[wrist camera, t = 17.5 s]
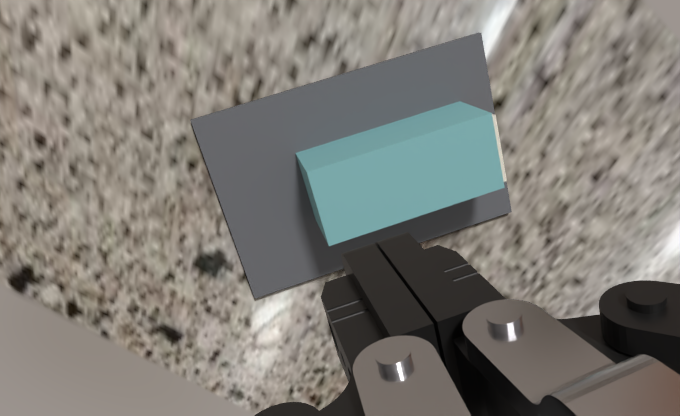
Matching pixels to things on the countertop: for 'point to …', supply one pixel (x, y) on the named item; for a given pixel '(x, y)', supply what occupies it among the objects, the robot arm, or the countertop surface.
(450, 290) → the robot arm
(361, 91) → the rubber mat
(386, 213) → the teal block
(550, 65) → the countertop surface
